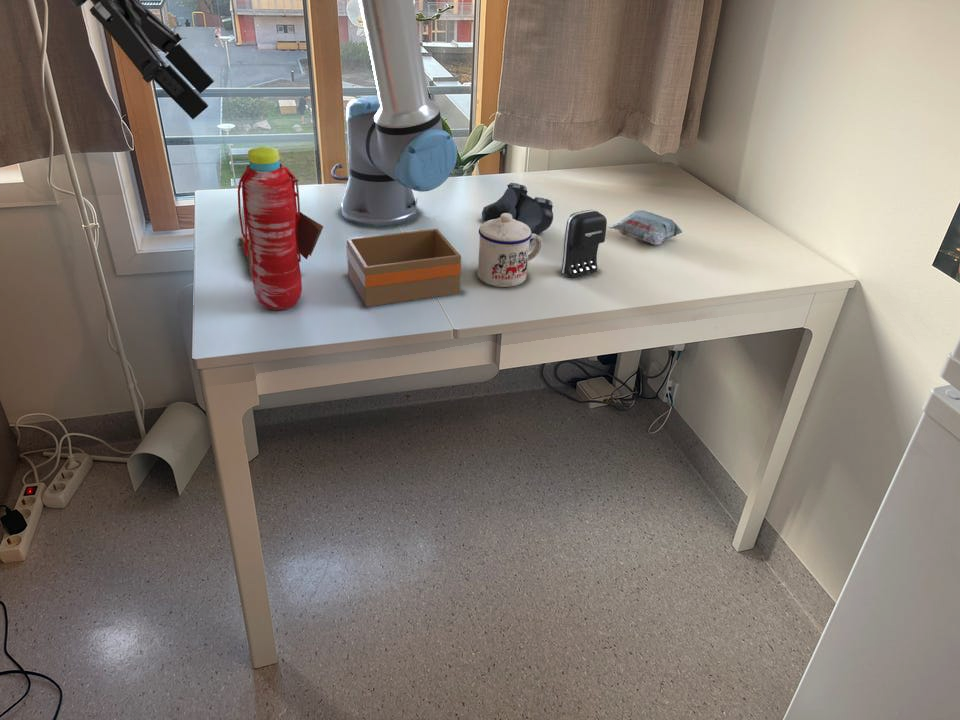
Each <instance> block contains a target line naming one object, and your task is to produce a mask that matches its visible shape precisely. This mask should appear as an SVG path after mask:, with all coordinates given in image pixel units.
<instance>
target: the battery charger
mask: <svg viewBox="0 0 960 720" xmlns="http://www.w3.org/2000/svg"><path fill="white" fill-rule="evenodd" d="M607 221H608V220H607V218H606V216H605V215H604V214H602V213H600V212H599V211H598V210H596V209H588V210H581V211H577V212H573V213H571V214H570V215H569V216H568V218H567V219H566V225H565V230H564V231H565V232H564V241H563V253H562V254H563V255H562V264H561V270H560V271H561V272H562V273H561V274H563V275H566V276H567V277H571V278H577V277H584V276H587V275H590V274H595V273H596V272H597V271H598V261H597V260H598V259H597V258H598V250H599V245H600V244H603V243H605V241H606V234H607V226H608V222H607Z"/></svg>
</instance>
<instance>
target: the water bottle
mask: <svg viewBox="0 0 960 720" xmlns="http://www.w3.org/2000/svg"><path fill="white" fill-rule="evenodd" d="M247 156H248V157H247V158H248V162H249V164H248V165H247V166H246V168H245V170H244V172H243V174H242V175H241V177H240V179H239V182H238V187H237V204H238V206H237V207H238V217H239V218H238V219H239V225H240V231H241V235H242V236H244V238H245V243H244V247H243V246H242V247H243V254H244V255H246V251H247V256H250V255H249V250H248V243H249V240H248V239H247V233H249V239H250V246H251V265H252V277H251V279H252V286H253V287H252V288H253V293H254V295H255V298H256V299H257V301H258V303H259V304H260V305H261V306H262V307H264V308H266V309H267V310H273V311H283V310H288V309H291V308H293V307H294V306H295V305H296V304H297V303H298V302H299V301H300V299H301V295H302V291H303V282H302V273H301V272H302V271H301V267H300V263H301V261H302V258H301V256H302V257H303V258H304V259H305V260H306V261H307V260H308V258H309V256H310V257H312V254H313V252H314V250H315V247H316V245H317V243H318V241H319V238H320V236H321V234H322V232H323V229H324V226H325V225H322V224H320V223H319V222H317V221H316V220H315V219H312V218H311V217H309V216H308V215H306V214H304V213H302V211H301V203H300V192H299V183H298V182H299V176H295V174H293V173H292V172H291V171H290V169H289V168H287V167H285V166H284V165H283V164H282V163H281V162H280V160H281V157H280V151H279V150H278V148H275V147H271V146H258V147H253V148H251V149H249V150H248V151H247ZM241 196H242V203H241ZM241 204H242V206H241ZM241 207H242V208H243V209H242V208H241ZM242 210H243V219H242ZM243 221H244V222H243ZM243 224H244V226H243ZM247 256H246V257H247Z"/></svg>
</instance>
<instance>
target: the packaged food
mask: <svg viewBox="0 0 960 720" xmlns="http://www.w3.org/2000/svg"><path fill="white" fill-rule="evenodd" d="M609 229H614V230H617V231H618V232H619V233H620V234H621V235H623V236H626V237H628V238H632V239H635V240H638V241H640V242H643V243H647V244H651V245H654V246H656V245H657V246H658V245H661V244H663V242H664V241H666V240H669V239H671V238H673V237H676V236H677V235H680V234H682V233H683V230H682V229H681V228H680V226H679V225H678V224H677V223H676V222H675V221H674V220H673V219H671V218H668V217H665V216H662V215H659V214H655V212H654V213H653V212H651V211H648V210H644V209H642V210H635V211H633V212H632V213H630V214H629V215H627V216H626V217H624V218H623V219H622V220H620V222H617V223H614V224H611V225H609Z"/></svg>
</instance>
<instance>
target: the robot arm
mask: <svg viewBox="0 0 960 720" xmlns="http://www.w3.org/2000/svg"><path fill="white" fill-rule="evenodd" d="M88 1H90V2H91V3H92V5H93V6H91V8H90V9H89V12H90V14H91V16H93V18H95V19H96V20H97V21H98V22H99V23H100V24H101V25H102V26H103V27H104V29H105V30H106V31H107V33H108V34H109V35H110V36H111V37H112V39H113V40H114V41H115V42H116V44H117V45H118V46H119V48H120V49H121V50H122V52H123V53H124V54H125V55H126V56H127V58H128V59H129V60H130V61H131V63H132V64H133V65H134V67H135V68H136V69H137V70H138V72H139V73H140V75H141V76H142V79H143V81H144V82H146V83H147V84H150V83H151V82H152V81H154V82H155V83H156V85H158V86H159V87H160V88H161V89H162V90H163V91H164V92H165V93H166V94H167V95H168V96H169V97H170V98H171V99H172V100H173V101H174V102H175V103H176V104H177V105H178V106H179V108H181V109H182V110H183V112H185V113H186V114H187V115H188V116H189V117H190V118H191V119H192V120H195V119H196V118H197V117H198V116H199V115H200V114H202V112H204V111H205V110H207V108H208V107H209V104H208V103H207V102H206V101H205V100H204V99H203V98H202V97H201V96H200V94H202V93H203V92H204V91H205V90H206V89H207V88H208V87H210V86H211V85H212V84H213V83H214V82H215V80H214V78H212V77H211V76H210V74H209V73H207V72H206V70H205V69H204V68H203V67H202V66H201V65H200V64H199V63H198V62H197V60H196V59H194V57H193V56H192V55H191V54H190V53H189V52H188V51H187V49H185V47H183V45H182V44H181V43H180V42H182V41H183V37H182V36H181V34H179V33H178V32H177V33H175V32H174V30H172V29H170V28H169V27H168V26H167V25H166V24H165V23H164V22H163V21H161V19H159V17H157V16H156V15H155V14H154V13H153V12H152V11H151V10H149V9H148V8H147V7H146V6H145V5H144V4H143V3H142V2H141V1H140V0H68V2H70V3H71V4H72V5H73V6H74V7H76V8H81V7H82V6H84V5H85V4H86V3H87V2H88ZM358 3H359V8H360V13H361V18H362V22H363V28H364V32H365V36H366V41H367V46H368V51H369V56H370V57H369V58H370V60H371V66H372V71H373V76H374V81H375V85H376V90H377V95H375V96H363V97H358V98H354V99H352V100H350V101H349V102H348V103H347V105H346V115H345V122H346V136H347V153H348V154H347V155H348V156H347V157H348V173H349V174H348V176H338V175H336V174H335V173H336V171H337V169H342V163H336V164H335V165H334V166H333V167H332V169H331V171H330V176H331V177H332V178H333V179H334V180H336V181H347V183H346V186H345V191H344V194H343V196H342V200H341V215H342V217H343V218H344V219H345V220H346V221H348V222H351V223H354V224H356V225H360V226H366V227H375V228H377V227H379V228H383V227H385V228H386V227H394V226H395V227H396V226H400V225H403V224H406V223H408V222H410V221H412V220H414V219H415V218H416V216H417V207H418V198H415V195H414V192H413V191H415V192H421V193H422V192H430V191H433V190H435V189H437V188H439V187H440V186H442V185H443V184H444V183H445V182H446V181H447V180H448V179H449V178H450V177H449V176H450V174H451V173H453V171H454V169H455V167H456V163H457V159H458V148H457V144H456V141H455V140H454V138H453V136H451V134H450V133H449V132H447V130H444V129H443V123H442V117H441V116H442V115H441V110H440V106H439V104H437V103H436V102H435V101H433V100H432V99H431V98H430V97H429V90H428V83H427V77H426V72H425V65H424V59H423V53H422V46H421V41H420V34H419V29H418V28H419V27H418V22H417V17H416V10H415V4H414V0H358ZM155 47H156V48H157V49H159V50H160V51H161V52H162V53H164V54H166V55H165V56H164V57H165V59H167V61H168V62H169V63H170V64H168V65H167V64H166V62H165V61H164V60H163V58H162V57H161V55H160V54H159V52H158V51H157V50H156V48H155ZM175 69H176V70H175ZM177 71H178V72H179V73H180V74H179V73H178V72H177ZM185 79H186V80H187V81H186V80H185ZM192 87H193V88H194V89H195V90H194V89H193V88H192ZM196 91H197V92H198V93H199V94H198V93H197V92H196Z"/></svg>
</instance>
